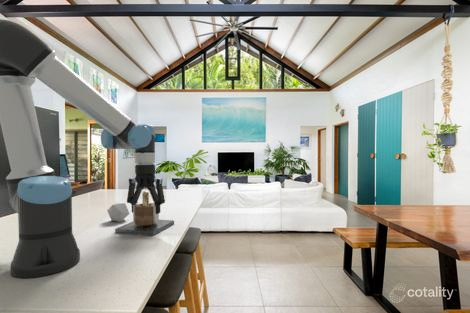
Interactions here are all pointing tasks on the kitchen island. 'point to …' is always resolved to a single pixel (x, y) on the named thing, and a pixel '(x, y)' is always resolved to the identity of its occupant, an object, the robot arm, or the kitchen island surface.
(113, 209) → the die
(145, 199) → the stand
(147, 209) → the bead
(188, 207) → the kitchen island surface
